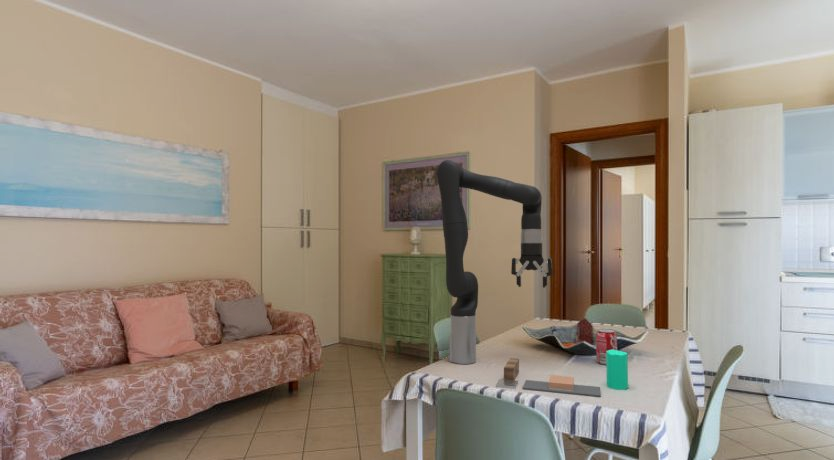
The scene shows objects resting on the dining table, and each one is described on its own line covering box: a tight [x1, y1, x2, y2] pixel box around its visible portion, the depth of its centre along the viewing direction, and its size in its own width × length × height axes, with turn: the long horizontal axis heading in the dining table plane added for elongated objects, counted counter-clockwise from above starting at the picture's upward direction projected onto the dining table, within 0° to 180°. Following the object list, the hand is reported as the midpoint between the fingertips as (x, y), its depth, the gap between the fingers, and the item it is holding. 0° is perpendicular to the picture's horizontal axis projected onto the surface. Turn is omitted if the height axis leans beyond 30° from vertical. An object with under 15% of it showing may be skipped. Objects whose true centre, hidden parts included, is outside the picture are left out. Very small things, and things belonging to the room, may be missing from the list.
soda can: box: [595, 328, 618, 366], centre depth 170 cm, size 7×7×12 cm
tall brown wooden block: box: [495, 357, 520, 390], centre depth 152 cm, size 19×6×4 cm, turn 160°
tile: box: [548, 374, 575, 391], centre depth 142 cm, size 7×2×8 cm
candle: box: [605, 346, 629, 391], centre depth 143 cm, size 6×6×12 cm
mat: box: [522, 379, 602, 398], centre depth 141 cm, size 22×8×1 cm, turn 70°
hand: (531, 287), depth 168 cm, fingers open, 8 cm apart
